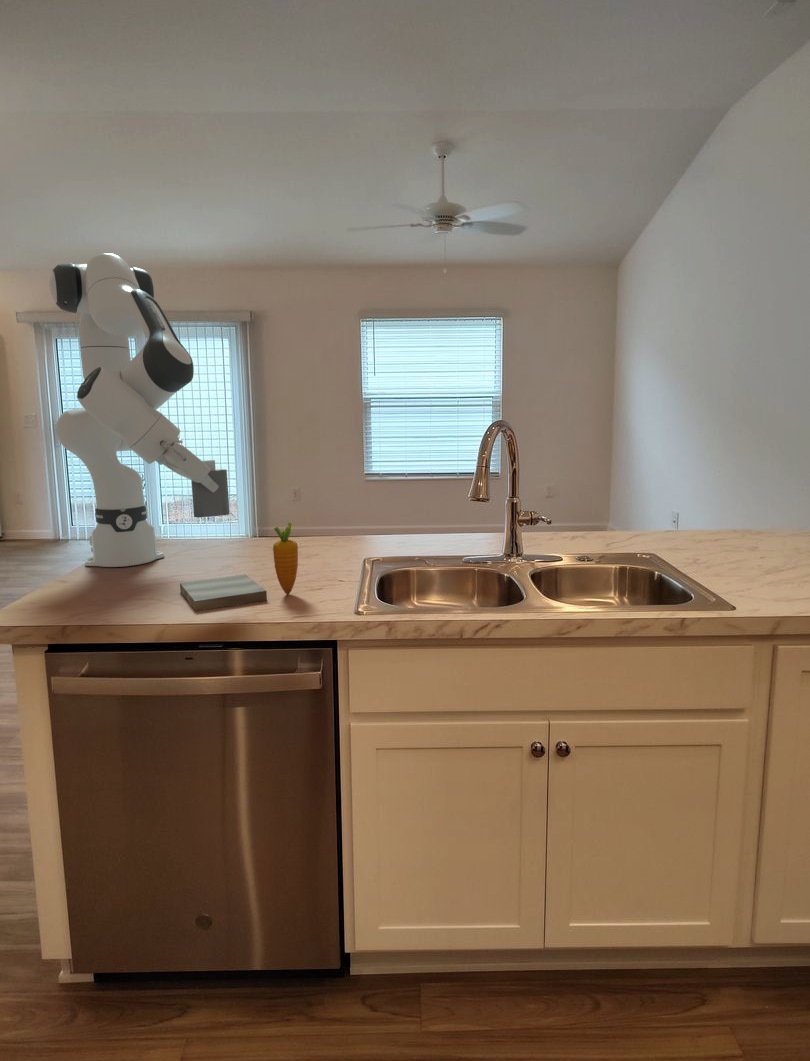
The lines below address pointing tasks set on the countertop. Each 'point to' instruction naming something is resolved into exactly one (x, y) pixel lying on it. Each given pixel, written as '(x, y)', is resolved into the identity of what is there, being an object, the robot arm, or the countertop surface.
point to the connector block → (211, 494)
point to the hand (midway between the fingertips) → (213, 488)
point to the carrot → (285, 559)
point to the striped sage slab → (222, 592)
